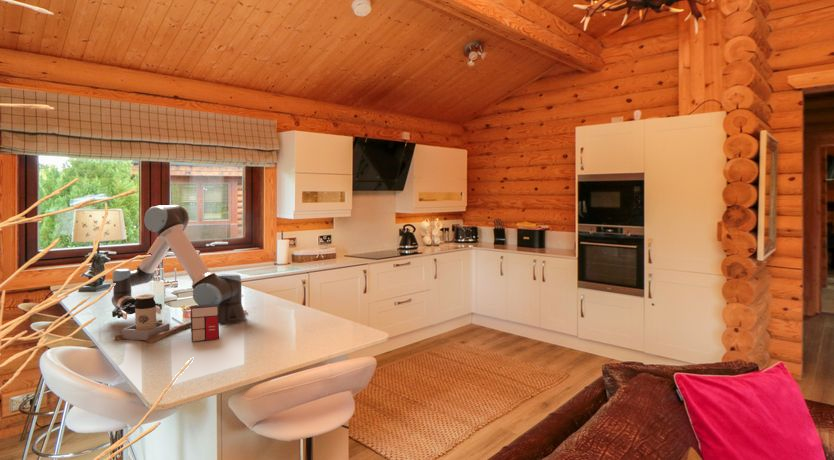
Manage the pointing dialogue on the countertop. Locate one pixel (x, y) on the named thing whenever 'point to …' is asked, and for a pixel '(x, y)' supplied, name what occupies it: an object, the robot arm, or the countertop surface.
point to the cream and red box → (204, 322)
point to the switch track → (161, 334)
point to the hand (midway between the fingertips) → (143, 313)
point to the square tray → (143, 331)
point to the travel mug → (145, 312)
